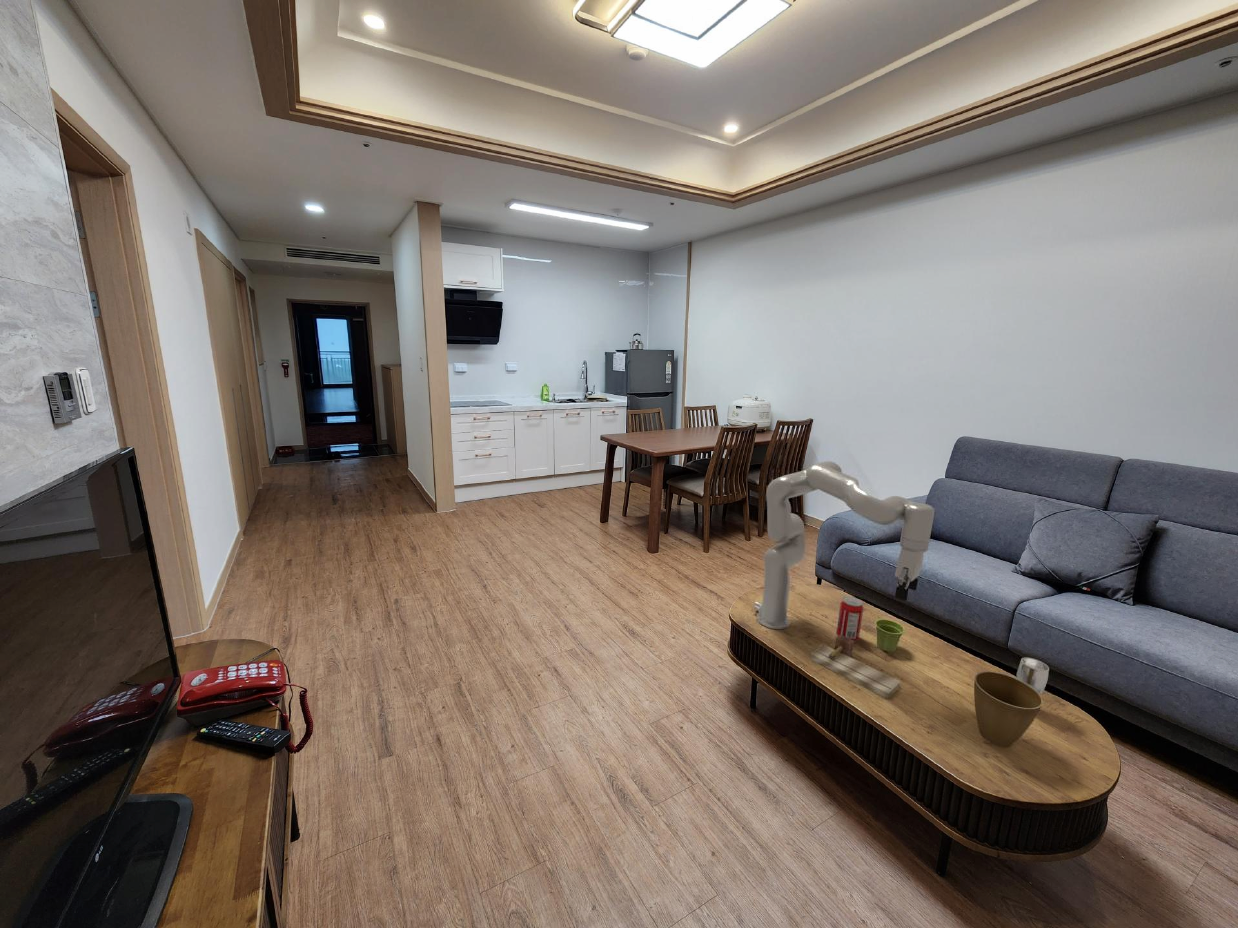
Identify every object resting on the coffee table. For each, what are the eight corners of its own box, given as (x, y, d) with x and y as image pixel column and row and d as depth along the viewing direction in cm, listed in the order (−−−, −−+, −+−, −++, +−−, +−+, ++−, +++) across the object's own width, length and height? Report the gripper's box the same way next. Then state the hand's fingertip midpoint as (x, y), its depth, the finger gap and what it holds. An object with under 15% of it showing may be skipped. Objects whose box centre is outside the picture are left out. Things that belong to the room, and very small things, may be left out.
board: (809, 658, 173) (810, 653, 172) (822, 649, 179) (823, 643, 178) (887, 699, 154) (888, 693, 153) (899, 686, 159) (900, 681, 159)
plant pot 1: (906, 652, 178) (910, 630, 176) (887, 657, 175) (891, 635, 173) (884, 637, 187) (888, 617, 185) (865, 642, 183) (869, 621, 181)
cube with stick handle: (822, 660, 172) (825, 645, 171) (838, 649, 179) (840, 634, 178) (836, 668, 168) (839, 652, 167) (852, 655, 175) (854, 640, 174)
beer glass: (1004, 702, 154) (1014, 659, 150) (1019, 697, 156) (1029, 655, 153) (1029, 717, 147) (1040, 673, 144) (1044, 712, 150) (1055, 668, 146)
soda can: (847, 645, 181) (852, 608, 178) (831, 633, 188) (836, 597, 185) (863, 641, 184) (869, 604, 181) (846, 629, 191) (852, 594, 188)
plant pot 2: (952, 727, 143) (962, 678, 139) (984, 712, 149) (995, 666, 145) (1009, 766, 130) (1022, 714, 126) (1042, 749, 136) (1055, 698, 132)
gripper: (909, 532, 161) (901, 581, 165) (891, 546, 149) (883, 598, 153) (935, 539, 156) (926, 589, 160) (919, 554, 144) (910, 607, 148)
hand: (905, 593), depth 157 cm, fingers open, 9 cm apart
